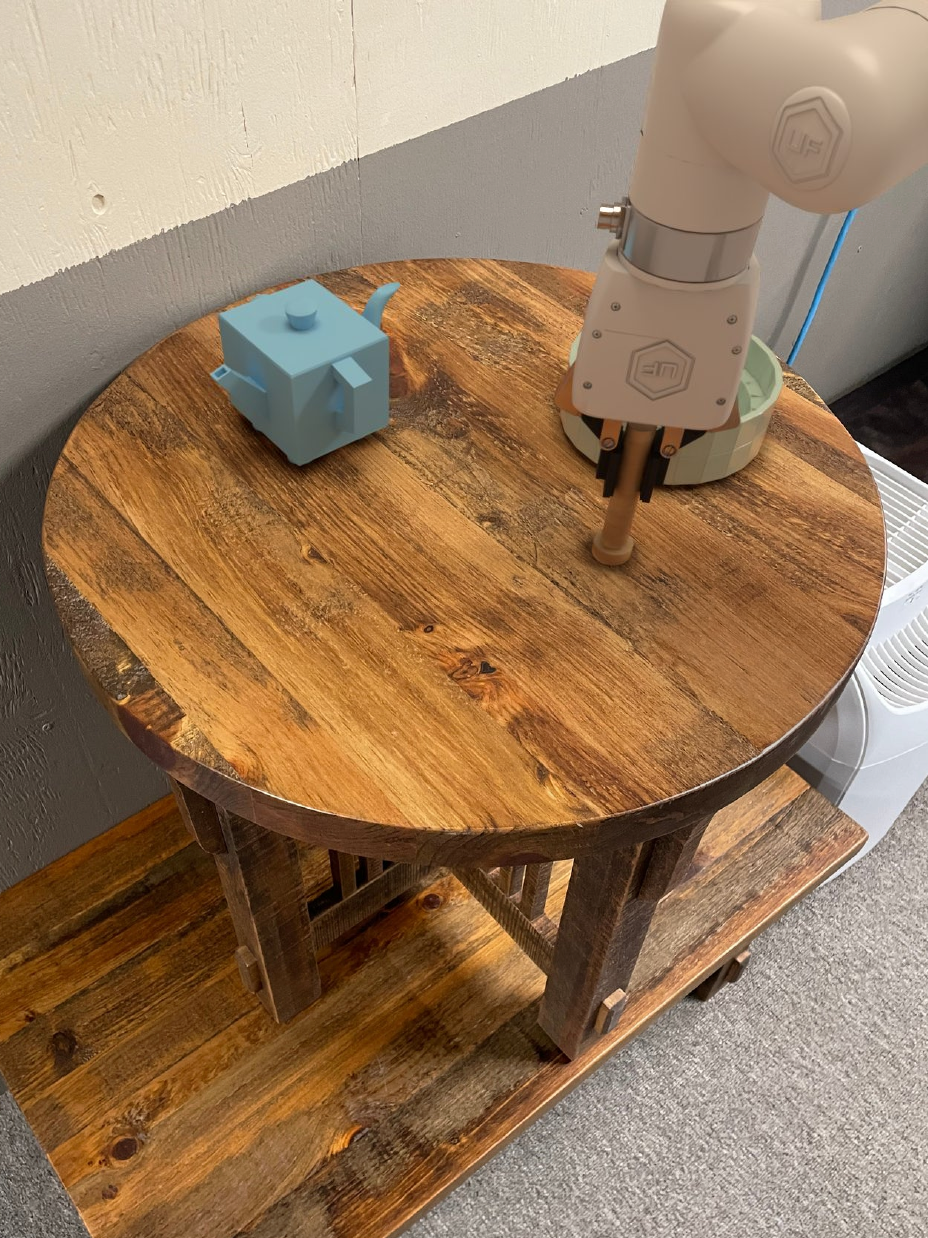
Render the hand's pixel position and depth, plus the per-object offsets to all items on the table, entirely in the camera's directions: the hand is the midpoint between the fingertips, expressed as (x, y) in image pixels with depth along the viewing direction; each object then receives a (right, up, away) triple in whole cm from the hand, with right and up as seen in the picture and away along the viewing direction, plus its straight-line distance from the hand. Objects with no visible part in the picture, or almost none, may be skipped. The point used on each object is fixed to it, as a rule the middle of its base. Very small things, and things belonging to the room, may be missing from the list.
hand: (627, 486), depth 71 cm
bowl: (+6, +9, +15) cm, 18 cm away
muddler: (0, -4, +5) cm, 7 cm away
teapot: (-23, +8, +15) cm, 29 cm away
